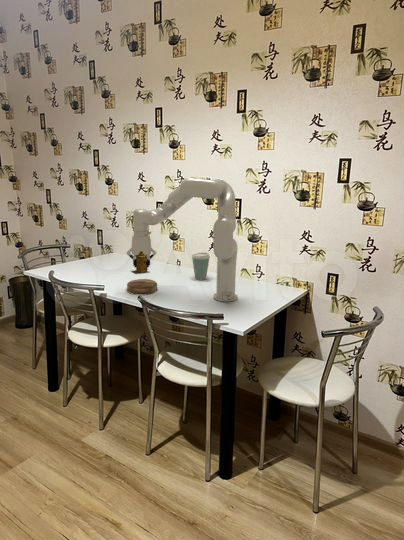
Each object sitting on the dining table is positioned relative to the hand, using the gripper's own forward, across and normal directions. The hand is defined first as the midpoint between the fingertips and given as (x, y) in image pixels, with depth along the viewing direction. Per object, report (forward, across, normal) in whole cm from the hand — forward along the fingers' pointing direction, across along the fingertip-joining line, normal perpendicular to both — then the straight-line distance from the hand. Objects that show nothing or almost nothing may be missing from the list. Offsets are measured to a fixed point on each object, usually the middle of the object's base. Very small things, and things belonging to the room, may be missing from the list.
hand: (141, 266), depth 227 cm
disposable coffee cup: (+13, -33, -21) cm, 41 cm away
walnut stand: (+13, 0, 0) cm, 13 cm away
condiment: (+3, +1, 0) cm, 3 cm away
